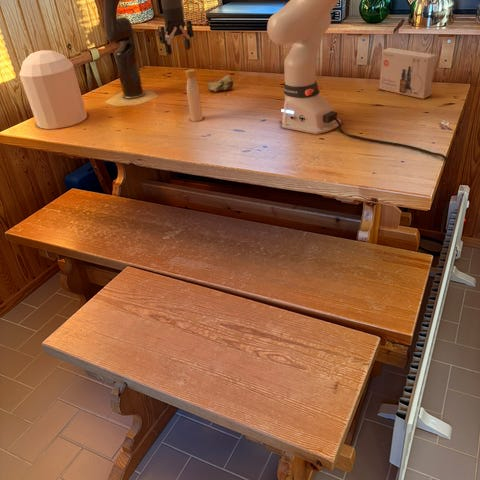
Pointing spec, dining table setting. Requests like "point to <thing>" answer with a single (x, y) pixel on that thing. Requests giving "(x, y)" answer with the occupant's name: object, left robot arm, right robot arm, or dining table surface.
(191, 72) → the cap
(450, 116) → the dining table surface
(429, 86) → the skincare box
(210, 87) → the rock
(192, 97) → the bottle
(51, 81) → the container
